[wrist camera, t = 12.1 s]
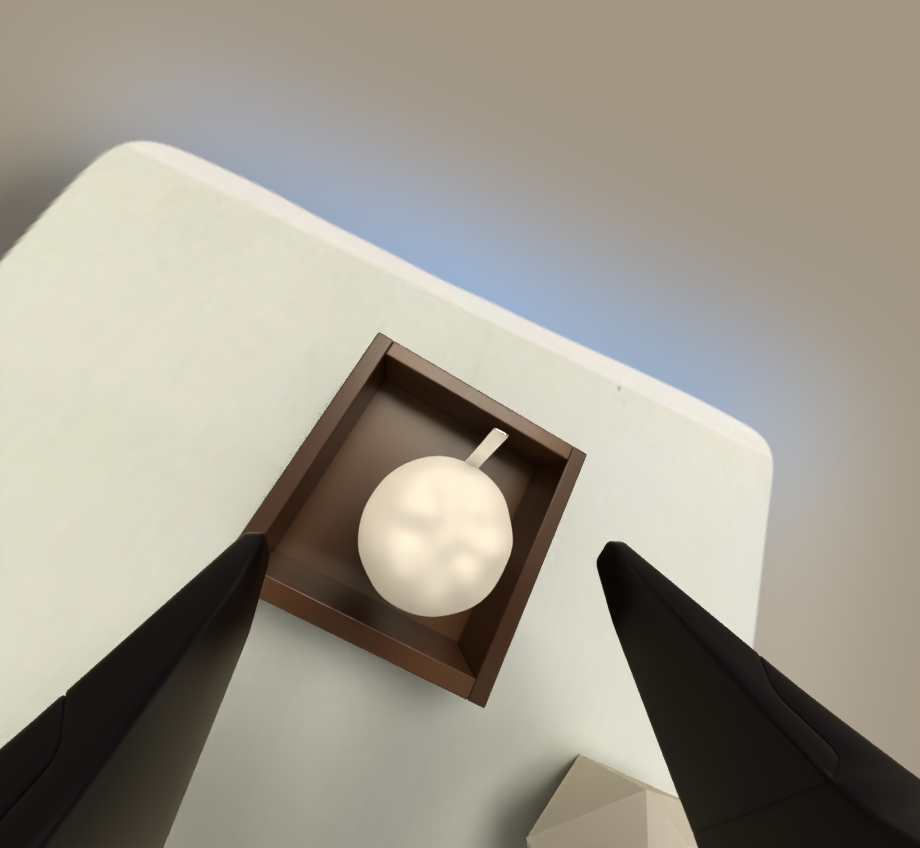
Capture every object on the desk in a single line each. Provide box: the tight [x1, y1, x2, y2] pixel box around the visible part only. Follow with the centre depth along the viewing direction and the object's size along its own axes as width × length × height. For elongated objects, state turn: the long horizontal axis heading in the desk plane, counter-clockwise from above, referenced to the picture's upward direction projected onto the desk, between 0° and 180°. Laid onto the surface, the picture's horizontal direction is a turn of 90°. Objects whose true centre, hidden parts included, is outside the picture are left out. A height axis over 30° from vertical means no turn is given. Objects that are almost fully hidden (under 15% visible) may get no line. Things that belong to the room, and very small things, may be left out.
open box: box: [239, 333, 586, 708], centre depth 17 cm, size 12×12×4 cm
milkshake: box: [358, 428, 513, 617], centre depth 13 cm, size 4×5×10 cm
